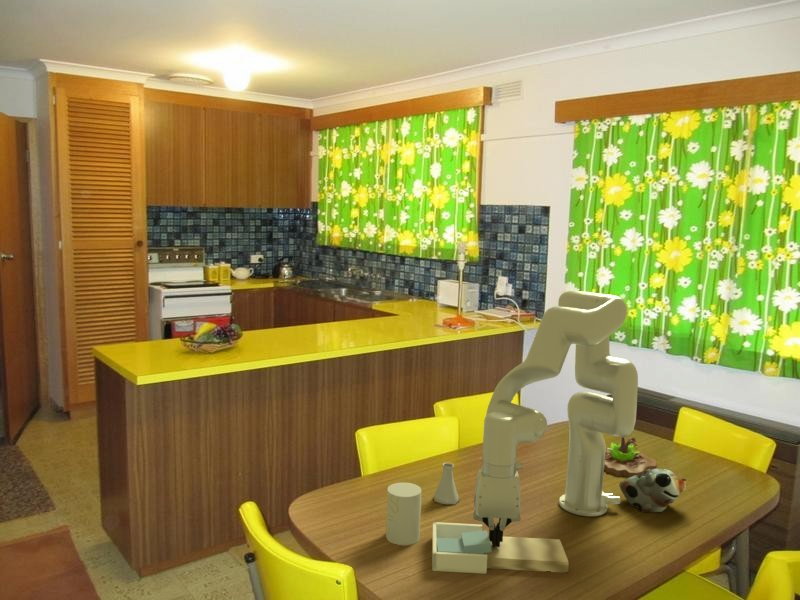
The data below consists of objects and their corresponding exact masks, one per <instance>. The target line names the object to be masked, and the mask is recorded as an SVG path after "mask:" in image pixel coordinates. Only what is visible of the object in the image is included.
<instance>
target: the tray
mask: <svg viewBox="0 0 800 600" xmlns="http://www.w3.org/2000/svg"><path fill="white" fill-rule="evenodd" d="M476 531H483V524H474V523H460V522H459V523H456V522H440V521H433V522H432V531H431V532H432V533H431V534H432V535H431V537H432V539H431V540H432V541H431V542H432V544H431V545H432V546H431V547H432V548H431V549H432V551H431V557H432V562H431V563H432V564H431V568H432V571H433V572H450V573H451V572H452V573H470V574H487V572H488V570H487V569H488V568H487V555H485V554H484V553H481V554H467V553H449V552H437V541H436V538H460V539H462V536H461V533H466V532H476Z"/></svg>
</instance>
